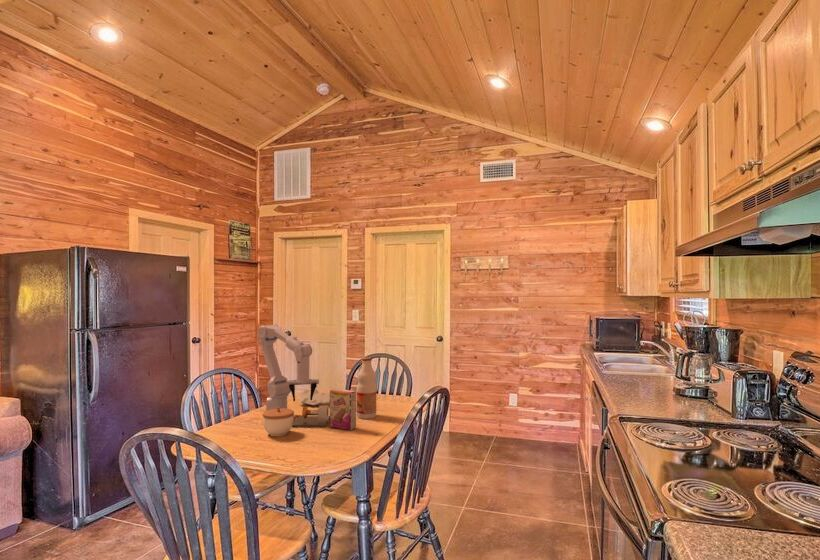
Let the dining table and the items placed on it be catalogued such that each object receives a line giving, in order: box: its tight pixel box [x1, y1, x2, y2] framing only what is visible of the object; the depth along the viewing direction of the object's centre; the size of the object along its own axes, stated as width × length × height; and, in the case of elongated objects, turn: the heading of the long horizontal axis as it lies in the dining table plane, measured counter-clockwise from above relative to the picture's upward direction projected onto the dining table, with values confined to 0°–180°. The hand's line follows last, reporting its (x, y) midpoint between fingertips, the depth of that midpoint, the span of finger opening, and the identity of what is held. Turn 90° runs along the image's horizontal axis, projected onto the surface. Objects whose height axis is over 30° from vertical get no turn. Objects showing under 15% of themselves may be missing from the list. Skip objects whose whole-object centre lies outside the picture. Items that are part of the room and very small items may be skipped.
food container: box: [296, 388, 330, 408], centre depth 244 cm, size 12×30×6 cm, turn 77°
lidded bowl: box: [262, 407, 295, 437], centre depth 196 cm, size 13×13×11 cm
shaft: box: [301, 406, 318, 418], centre depth 212 cm, size 9×5×5 cm, turn 91°
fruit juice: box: [356, 356, 377, 420], centre depth 222 cm, size 9×9×28 cm
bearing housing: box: [291, 406, 330, 428], centre depth 212 cm, size 15×14×7 cm
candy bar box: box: [329, 388, 357, 431], centre depth 204 cm, size 11×5×16 cm, turn 65°
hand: (302, 400), depth 215 cm, fingers open, 7 cm apart
